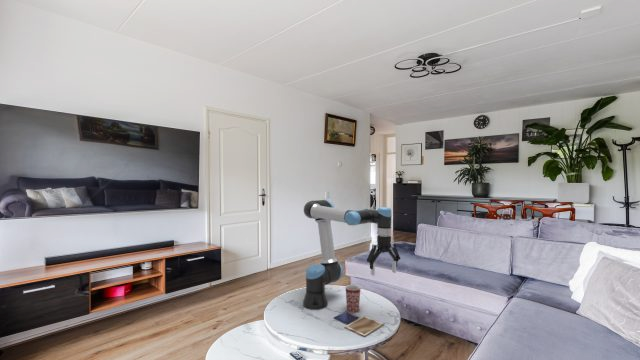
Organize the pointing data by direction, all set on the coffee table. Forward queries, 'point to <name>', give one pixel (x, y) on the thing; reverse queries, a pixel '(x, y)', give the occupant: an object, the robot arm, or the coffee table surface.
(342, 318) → the ink pad
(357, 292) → the mug
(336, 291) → the coffee table surface
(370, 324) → the board
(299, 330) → the coffee table surface
